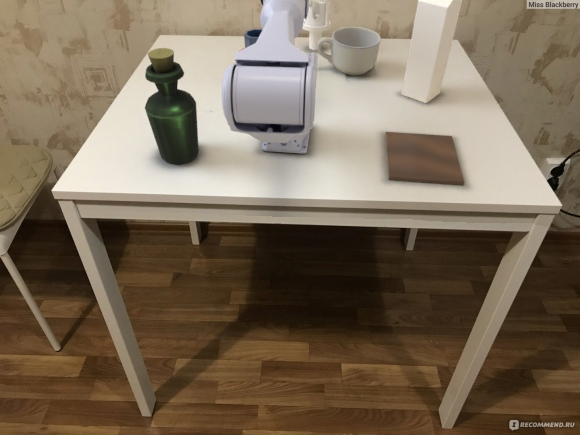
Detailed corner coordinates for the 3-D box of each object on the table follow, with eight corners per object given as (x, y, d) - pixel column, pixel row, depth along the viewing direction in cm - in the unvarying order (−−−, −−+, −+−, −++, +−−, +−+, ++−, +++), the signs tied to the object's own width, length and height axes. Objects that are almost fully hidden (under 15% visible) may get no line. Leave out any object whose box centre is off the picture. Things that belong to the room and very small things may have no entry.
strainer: (295, 49, 114) (296, -16, 104) (312, 41, 118) (315, -22, 108) (317, 57, 111) (320, -10, 101) (334, 48, 115) (339, -17, 105)
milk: (426, 104, 94) (452, -12, 79) (400, 94, 97) (420, -19, 82) (440, 93, 97) (467, -20, 82) (415, 84, 100) (437, -26, 85)
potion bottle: (194, 170, 77) (177, 66, 64) (148, 165, 78) (123, 62, 65) (209, 143, 82) (195, 44, 70) (166, 139, 83) (145, 40, 71)
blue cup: (267, 74, 103) (266, 38, 97) (245, 72, 103) (242, 37, 98) (271, 64, 106) (270, 29, 101) (249, 63, 107) (247, 28, 102)
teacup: (375, 61, 109) (380, 27, 104) (377, 81, 101) (382, 45, 96) (317, 58, 110) (318, 24, 105) (314, 78, 102) (316, 43, 97)
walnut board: (463, 185, 74) (464, 182, 73) (388, 179, 75) (389, 176, 74) (451, 138, 84) (452, 135, 84) (385, 134, 85) (385, 131, 85)
